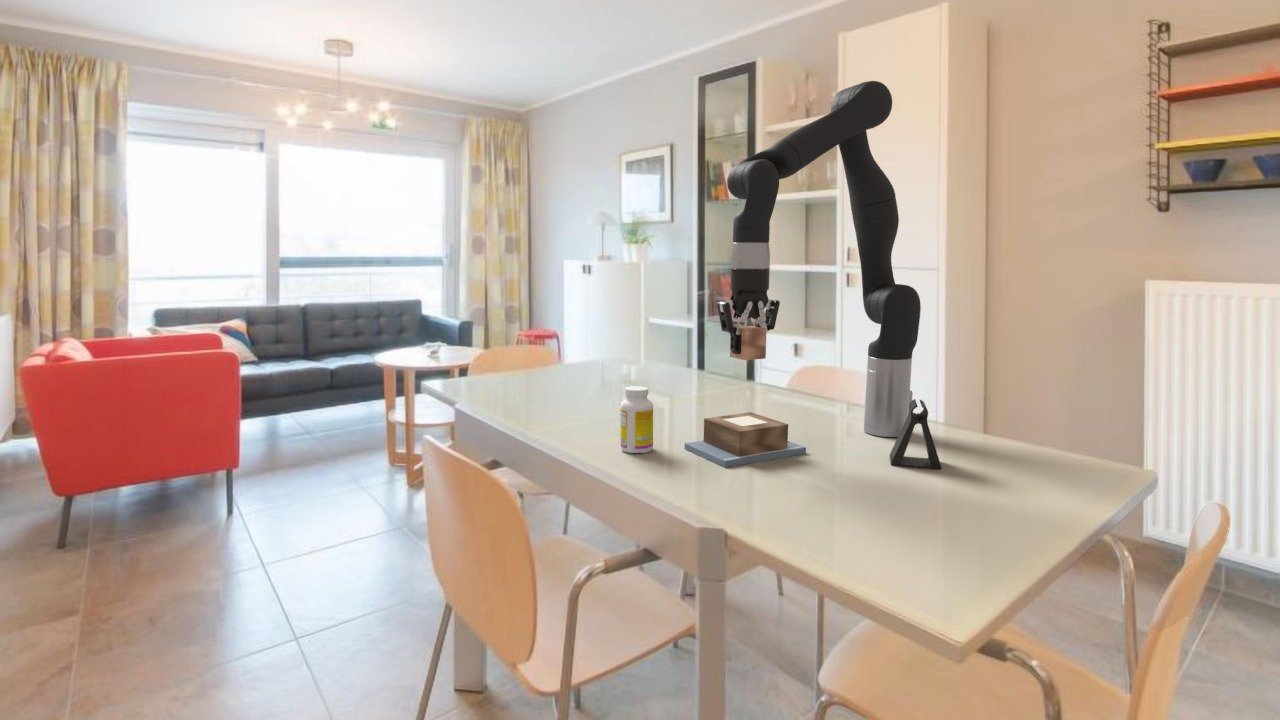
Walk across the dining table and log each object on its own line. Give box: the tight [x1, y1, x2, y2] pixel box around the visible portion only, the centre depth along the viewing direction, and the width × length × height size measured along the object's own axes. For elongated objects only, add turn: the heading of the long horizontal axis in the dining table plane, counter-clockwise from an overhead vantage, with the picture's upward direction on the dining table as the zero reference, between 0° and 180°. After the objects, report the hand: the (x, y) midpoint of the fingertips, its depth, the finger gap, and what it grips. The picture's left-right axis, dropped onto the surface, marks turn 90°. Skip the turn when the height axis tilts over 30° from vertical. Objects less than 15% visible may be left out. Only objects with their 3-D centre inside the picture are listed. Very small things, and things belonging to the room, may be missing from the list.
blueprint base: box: [684, 412, 807, 468], centre depth 143 cm, size 20×14×6 cm
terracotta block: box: [729, 325, 768, 361], centre depth 140 cm, size 5×5×6 cm
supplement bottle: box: [619, 385, 654, 454], centre depth 143 cm, size 7×7×13 cm
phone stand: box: [889, 399, 942, 471], centre depth 135 cm, size 9×6×12 cm, turn 73°
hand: (747, 352), depth 140 cm, fingers closed on terracotta block, 5 cm apart
